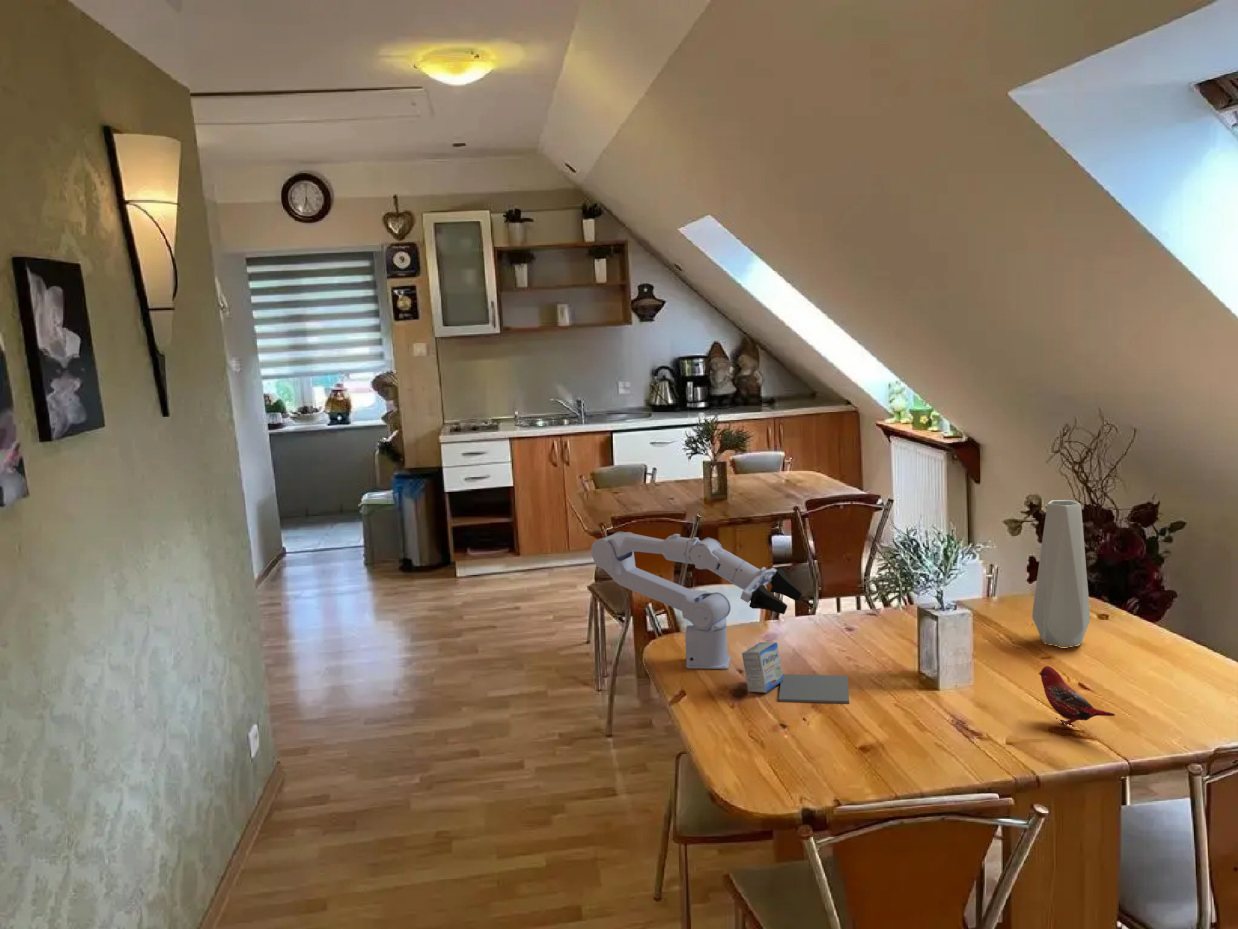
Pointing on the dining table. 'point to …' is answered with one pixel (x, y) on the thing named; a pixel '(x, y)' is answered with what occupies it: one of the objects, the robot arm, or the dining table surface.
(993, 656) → the dining table surface
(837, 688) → the mat
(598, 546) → the robot arm
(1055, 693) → the decorative bird figurine
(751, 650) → the medicine box
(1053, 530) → the vase
